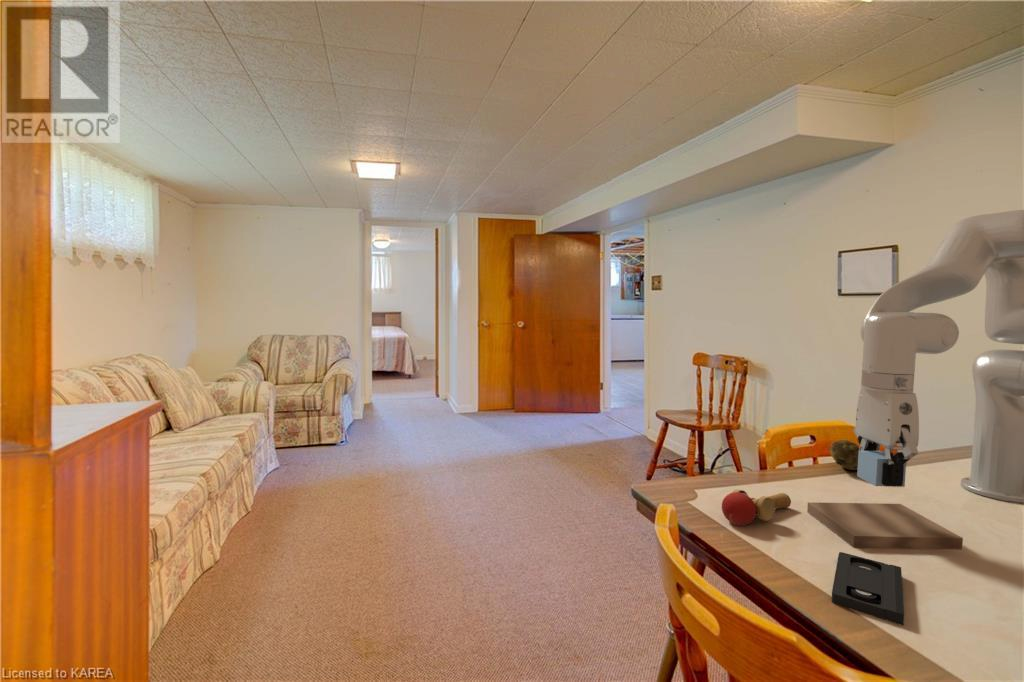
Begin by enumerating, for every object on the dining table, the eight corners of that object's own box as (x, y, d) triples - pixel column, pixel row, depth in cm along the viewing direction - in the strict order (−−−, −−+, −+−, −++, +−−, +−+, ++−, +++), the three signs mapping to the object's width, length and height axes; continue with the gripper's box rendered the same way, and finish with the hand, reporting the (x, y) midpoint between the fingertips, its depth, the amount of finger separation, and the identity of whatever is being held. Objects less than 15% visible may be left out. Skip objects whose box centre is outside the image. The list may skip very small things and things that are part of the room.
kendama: (761, 505, 104) (707, 512, 94) (769, 478, 103) (716, 483, 93) (796, 525, 97) (742, 535, 88) (805, 497, 96) (752, 504, 87)
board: (899, 513, 96) (900, 503, 96) (962, 549, 82) (962, 538, 82) (807, 512, 97) (807, 502, 97) (853, 547, 83) (853, 536, 83)
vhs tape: (838, 562, 79) (839, 551, 79) (900, 579, 74) (901, 567, 74) (830, 606, 68) (831, 592, 68) (903, 629, 63) (904, 614, 63)
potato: (875, 468, 122) (876, 437, 122) (856, 479, 115) (857, 446, 114) (837, 460, 129) (839, 430, 128) (817, 470, 121) (819, 438, 121)
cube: (884, 476, 91) (886, 450, 91) (904, 486, 86) (906, 459, 86) (857, 476, 91) (858, 450, 91) (875, 486, 86) (877, 458, 86)
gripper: (948, 390, 79) (940, 498, 80) (875, 375, 96) (869, 464, 97) (901, 389, 79) (893, 497, 80) (836, 374, 96) (831, 464, 97)
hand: (880, 478), depth 89 cm, fingers closed on cube, 5 cm apart
